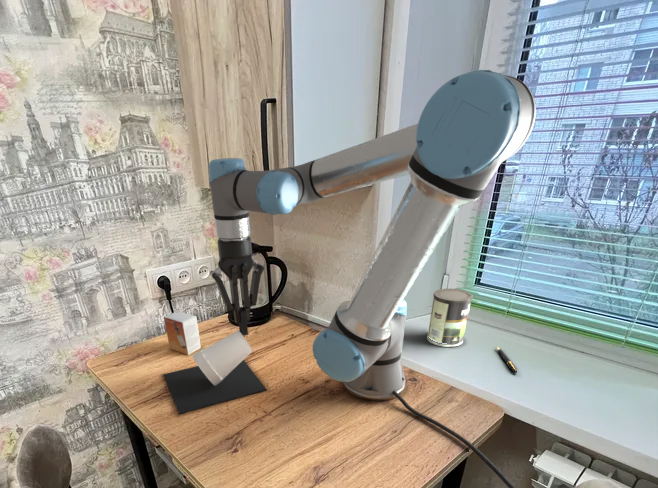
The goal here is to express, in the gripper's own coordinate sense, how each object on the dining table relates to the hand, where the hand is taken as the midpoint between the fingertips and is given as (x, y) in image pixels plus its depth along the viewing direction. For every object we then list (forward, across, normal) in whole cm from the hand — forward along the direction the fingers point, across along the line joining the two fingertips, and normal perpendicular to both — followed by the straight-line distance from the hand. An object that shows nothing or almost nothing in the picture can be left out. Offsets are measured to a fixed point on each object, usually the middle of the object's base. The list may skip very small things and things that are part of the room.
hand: (243, 333), depth 105 cm
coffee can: (+12, -59, +9) cm, 61 cm away
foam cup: (+1, 0, +1) cm, 2 cm away
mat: (+12, +10, +1) cm, 15 cm away
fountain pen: (+12, -64, +27) cm, 71 cm away
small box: (+12, +12, -22) cm, 28 cm away
